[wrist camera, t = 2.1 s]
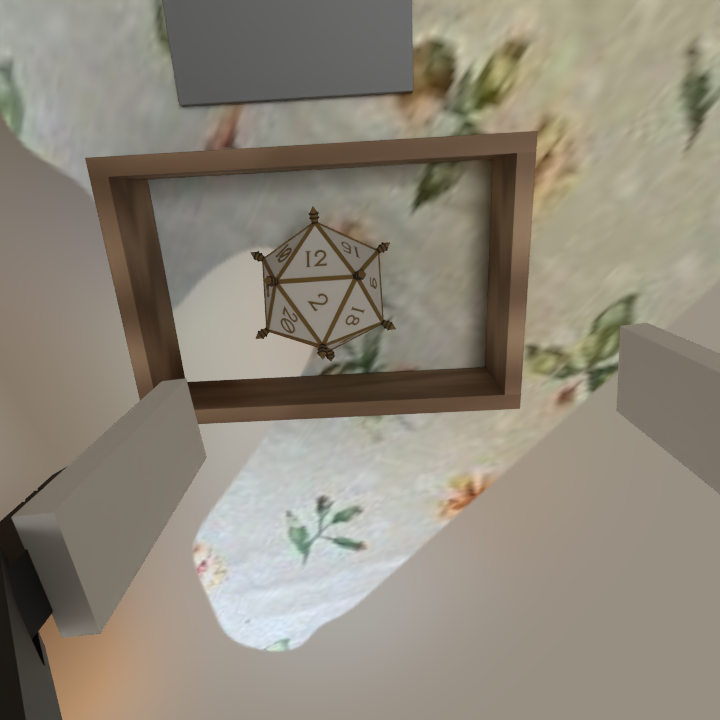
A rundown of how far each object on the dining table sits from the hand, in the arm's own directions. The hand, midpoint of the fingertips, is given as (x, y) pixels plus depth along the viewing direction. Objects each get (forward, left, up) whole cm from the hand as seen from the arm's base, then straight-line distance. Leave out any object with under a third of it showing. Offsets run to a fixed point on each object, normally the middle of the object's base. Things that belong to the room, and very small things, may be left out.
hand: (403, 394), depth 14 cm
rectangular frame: (0, -4, -19) cm, 20 cm away
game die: (0, -4, -19) cm, 20 cm away
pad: (-17, -5, -19) cm, 26 cm away
